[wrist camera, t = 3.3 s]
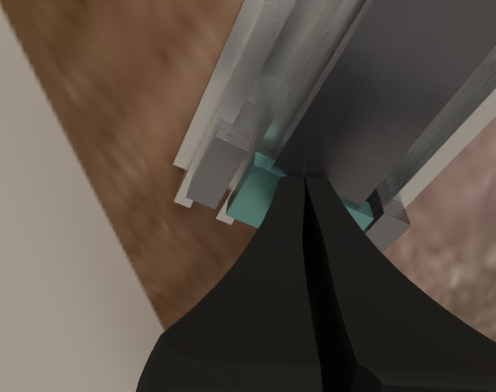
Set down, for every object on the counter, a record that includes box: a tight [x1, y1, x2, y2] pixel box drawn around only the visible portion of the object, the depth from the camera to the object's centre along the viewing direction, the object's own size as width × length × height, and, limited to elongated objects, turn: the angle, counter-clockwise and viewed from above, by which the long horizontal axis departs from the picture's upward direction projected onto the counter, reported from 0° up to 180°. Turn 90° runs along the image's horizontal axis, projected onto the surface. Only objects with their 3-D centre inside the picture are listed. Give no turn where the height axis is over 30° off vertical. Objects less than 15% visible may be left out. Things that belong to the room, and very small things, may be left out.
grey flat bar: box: [226, 0, 496, 231], centre depth 10 cm, size 11×4×1 cm, turn 154°
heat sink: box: [173, 0, 496, 253], centre depth 12 cm, size 13×8×5 cm, turn 154°
